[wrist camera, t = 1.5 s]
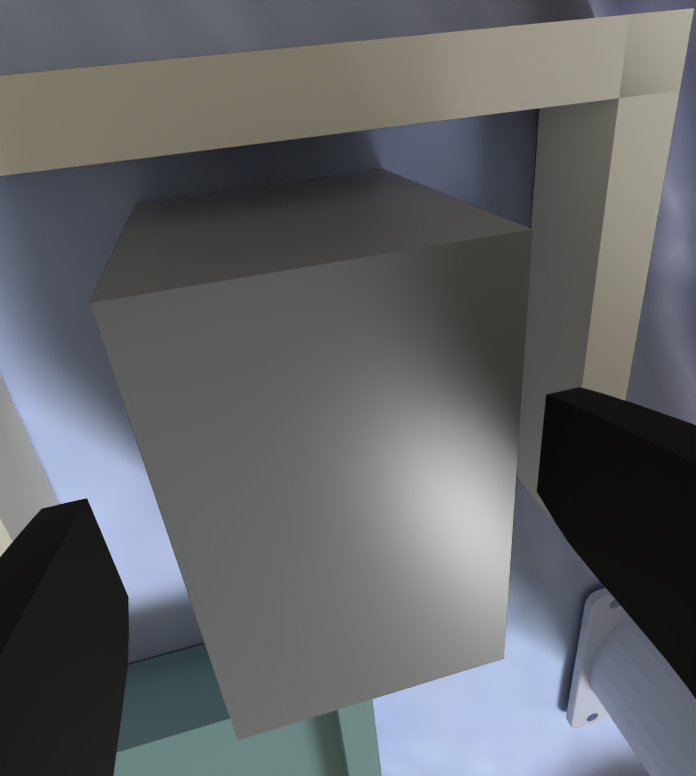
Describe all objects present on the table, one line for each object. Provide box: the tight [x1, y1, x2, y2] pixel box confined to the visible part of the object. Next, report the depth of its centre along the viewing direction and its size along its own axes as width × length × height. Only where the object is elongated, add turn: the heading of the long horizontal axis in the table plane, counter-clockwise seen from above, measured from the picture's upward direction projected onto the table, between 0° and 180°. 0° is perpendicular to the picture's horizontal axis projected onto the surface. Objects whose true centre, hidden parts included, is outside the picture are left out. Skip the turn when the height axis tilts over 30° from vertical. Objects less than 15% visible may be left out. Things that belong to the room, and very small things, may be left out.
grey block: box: [90, 169, 533, 740], centre depth 11 cm, size 5×9×6 cm, turn 6°
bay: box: [0, 8, 694, 556], centre depth 12 cm, size 14×11×2 cm
